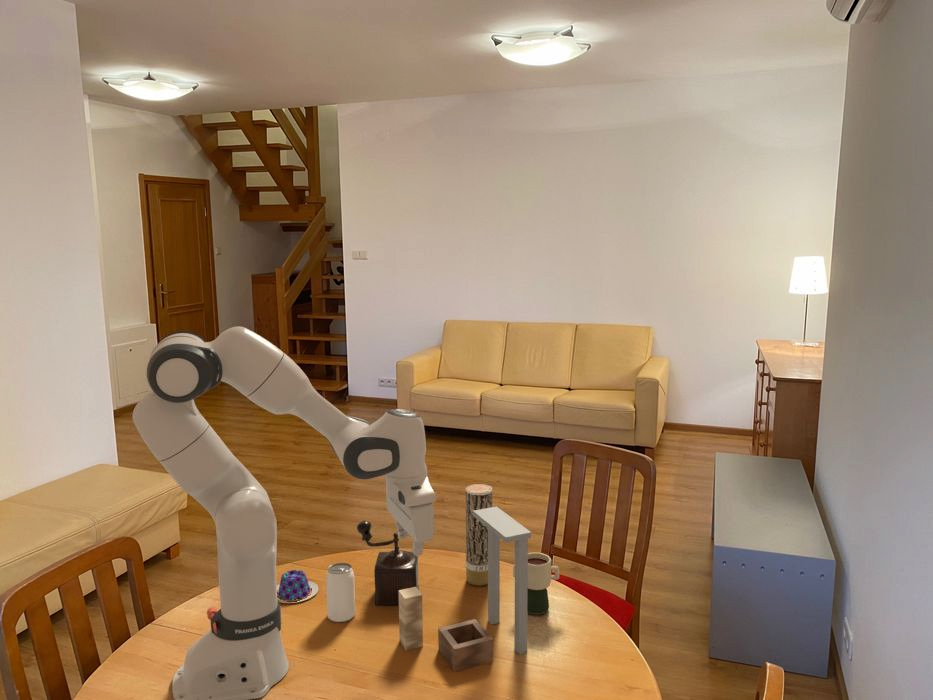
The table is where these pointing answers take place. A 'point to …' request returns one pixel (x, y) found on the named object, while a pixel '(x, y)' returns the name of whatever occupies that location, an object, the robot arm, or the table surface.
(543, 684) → the table surface
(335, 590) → the can
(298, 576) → the pudding
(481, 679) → the table surface
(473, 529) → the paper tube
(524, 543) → the u-shaped bar frame
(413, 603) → the peg
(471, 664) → the socket
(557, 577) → the character mug
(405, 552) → the manual coffee grinder
